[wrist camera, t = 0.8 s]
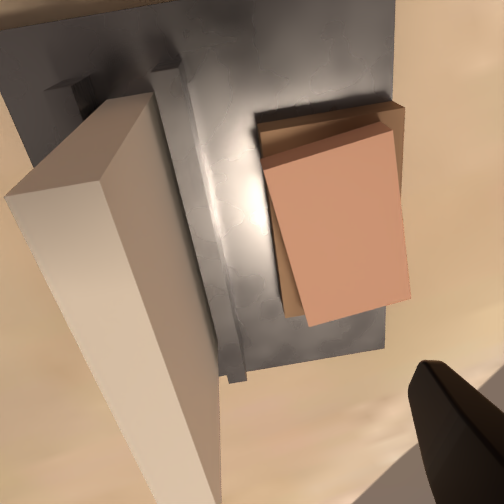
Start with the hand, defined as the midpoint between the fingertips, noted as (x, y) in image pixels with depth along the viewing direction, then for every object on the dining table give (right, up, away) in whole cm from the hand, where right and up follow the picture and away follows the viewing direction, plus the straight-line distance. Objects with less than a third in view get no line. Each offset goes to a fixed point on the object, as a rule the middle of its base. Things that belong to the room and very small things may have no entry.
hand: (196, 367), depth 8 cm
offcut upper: (+5, +3, +11) cm, 13 cm away
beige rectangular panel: (-3, +3, +13) cm, 13 cm away
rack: (0, +4, +13) cm, 14 cm away
